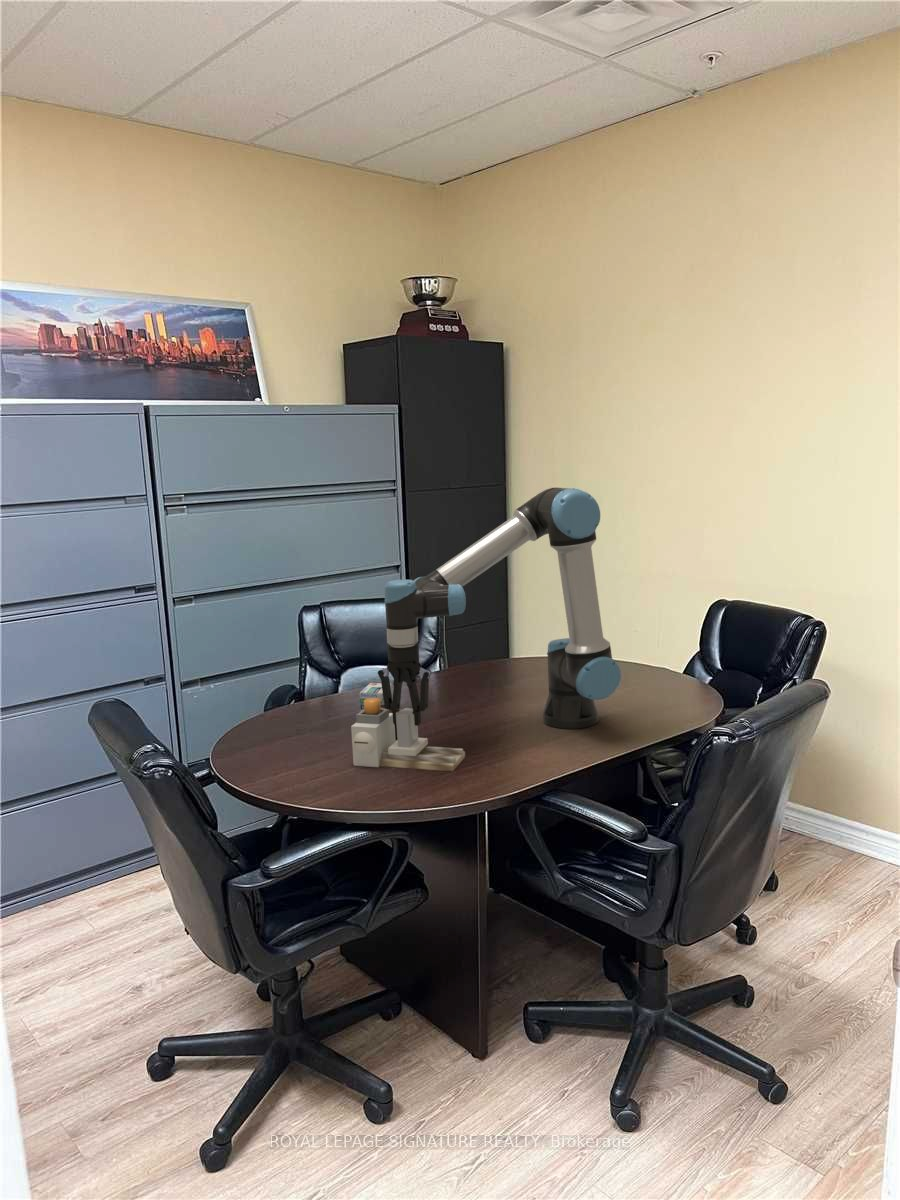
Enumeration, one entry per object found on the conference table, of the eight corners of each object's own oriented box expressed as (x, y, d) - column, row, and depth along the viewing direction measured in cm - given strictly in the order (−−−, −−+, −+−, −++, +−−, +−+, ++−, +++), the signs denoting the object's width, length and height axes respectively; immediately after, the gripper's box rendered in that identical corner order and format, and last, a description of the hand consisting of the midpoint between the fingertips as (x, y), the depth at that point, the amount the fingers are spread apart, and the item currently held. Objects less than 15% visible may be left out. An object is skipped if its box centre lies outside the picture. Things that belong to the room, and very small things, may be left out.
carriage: (427, 743, 228) (426, 707, 227) (415, 756, 220) (413, 718, 218) (401, 742, 231) (399, 705, 229) (388, 754, 222) (386, 716, 221)
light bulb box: (384, 731, 250) (382, 692, 248) (360, 730, 252) (358, 692, 250) (394, 719, 261) (392, 682, 259) (371, 718, 262) (369, 682, 260)
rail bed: (465, 757, 226) (464, 746, 226) (452, 771, 217) (452, 760, 217) (395, 752, 232) (395, 742, 232) (380, 766, 223) (380, 755, 222)
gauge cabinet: (396, 751, 233) (393, 705, 231) (377, 768, 221) (374, 720, 219) (372, 749, 235) (369, 704, 233) (352, 766, 223) (349, 719, 221)
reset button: (383, 710, 228) (382, 698, 227) (376, 714, 224) (376, 702, 224) (368, 709, 229) (367, 697, 229) (361, 713, 225) (361, 702, 225)
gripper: (439, 641, 222) (443, 734, 226) (378, 639, 227) (383, 730, 231) (429, 648, 215) (433, 744, 219) (366, 646, 220) (371, 740, 224)
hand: (407, 737), depth 225 cm, fingers closed on carriage, 3 cm apart
